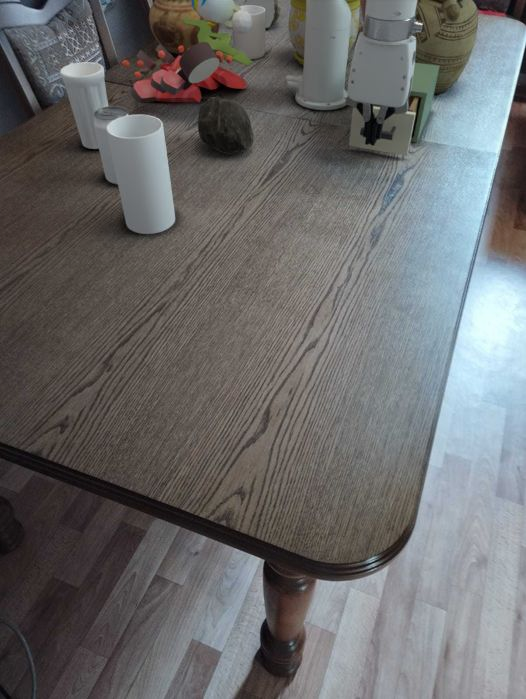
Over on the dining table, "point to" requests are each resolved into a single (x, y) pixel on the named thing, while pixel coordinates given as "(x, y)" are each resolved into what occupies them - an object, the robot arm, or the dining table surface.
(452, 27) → the ceramic vessel
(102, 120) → the can
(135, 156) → the cup
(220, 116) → the rock
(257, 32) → the mug
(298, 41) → the flowerpot
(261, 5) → the sculpture
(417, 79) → the cabinet
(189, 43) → the clay pot
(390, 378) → the dining table surface
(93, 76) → the cup
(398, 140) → the drawer
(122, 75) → the dining table surface
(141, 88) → the sushi set
